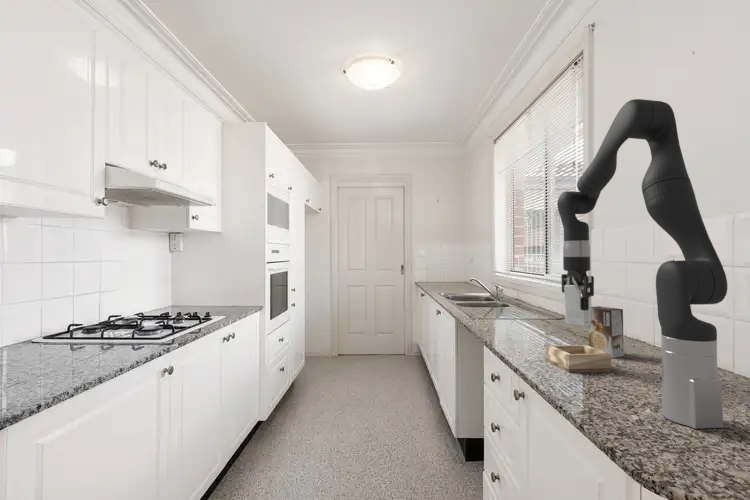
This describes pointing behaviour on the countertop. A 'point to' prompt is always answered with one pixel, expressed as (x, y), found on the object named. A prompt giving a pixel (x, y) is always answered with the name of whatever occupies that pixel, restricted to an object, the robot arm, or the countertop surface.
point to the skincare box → (575, 307)
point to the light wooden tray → (579, 358)
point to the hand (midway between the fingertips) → (577, 308)
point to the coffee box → (607, 330)
